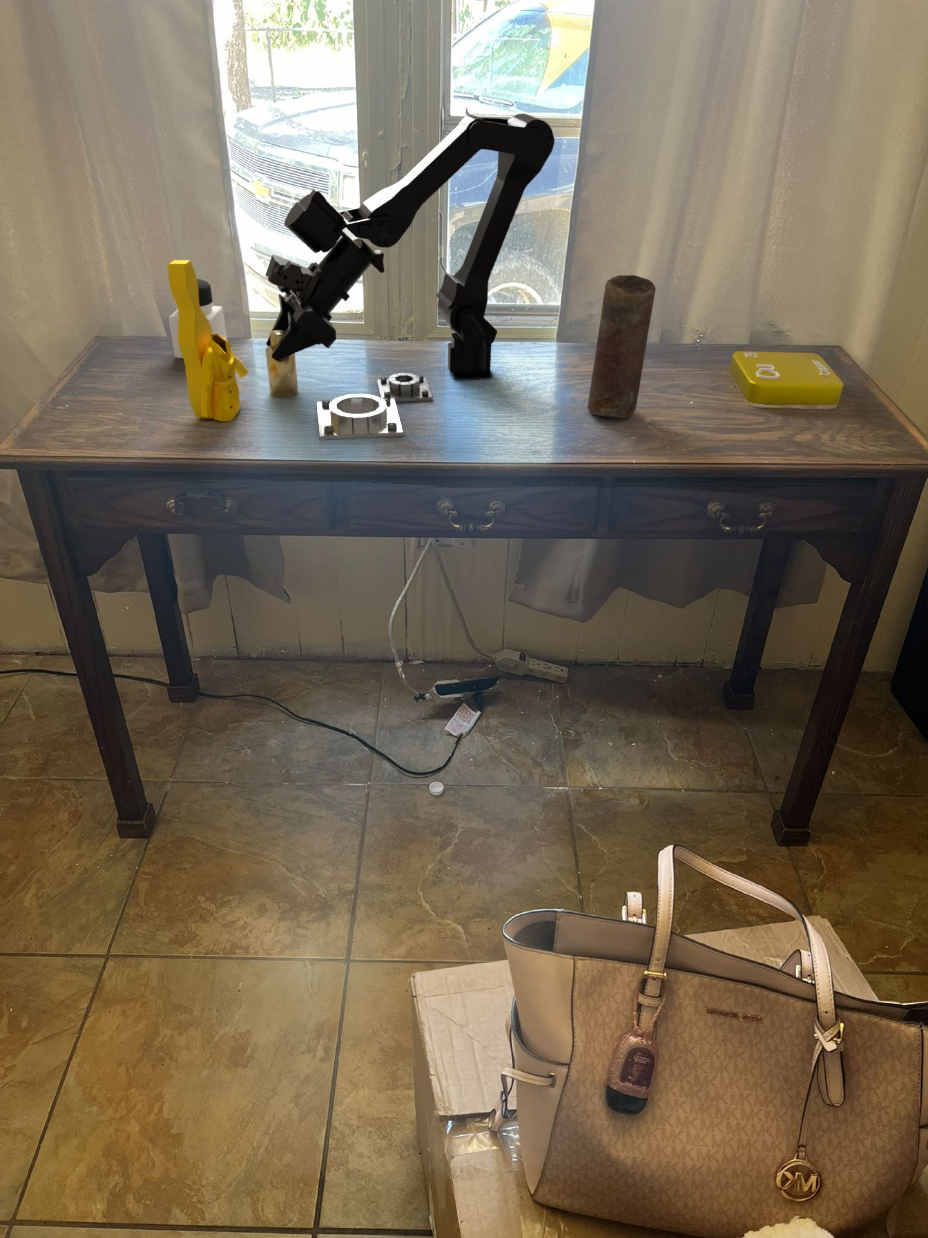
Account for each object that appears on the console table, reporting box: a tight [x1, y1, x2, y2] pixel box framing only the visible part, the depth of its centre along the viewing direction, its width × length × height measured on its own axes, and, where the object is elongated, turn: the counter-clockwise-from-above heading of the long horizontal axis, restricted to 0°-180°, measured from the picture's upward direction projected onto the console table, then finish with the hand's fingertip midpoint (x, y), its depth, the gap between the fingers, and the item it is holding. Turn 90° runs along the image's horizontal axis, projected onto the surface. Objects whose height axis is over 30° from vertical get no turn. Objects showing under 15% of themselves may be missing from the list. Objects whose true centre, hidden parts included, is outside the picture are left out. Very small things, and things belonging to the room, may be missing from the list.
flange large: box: [316, 393, 404, 441], centre depth 133 cm, size 12×12×2 cm
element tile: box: [729, 350, 844, 405], centre depth 146 cm, size 15×15×5 cm
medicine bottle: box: [168, 278, 228, 359], centre depth 151 cm, size 7×7×12 cm
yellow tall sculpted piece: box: [167, 259, 249, 422], centre depth 128 cm, size 18×8×22 cm, turn 172°
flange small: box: [376, 372, 433, 403], centre depth 142 cm, size 8×8×2 cm
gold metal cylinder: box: [265, 330, 299, 399], centre depth 138 cm, size 4×4×10 cm
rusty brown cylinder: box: [587, 274, 656, 420], centre depth 132 cm, size 8×7×20 cm
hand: (271, 352), depth 137 cm, fingers open, 5 cm apart
